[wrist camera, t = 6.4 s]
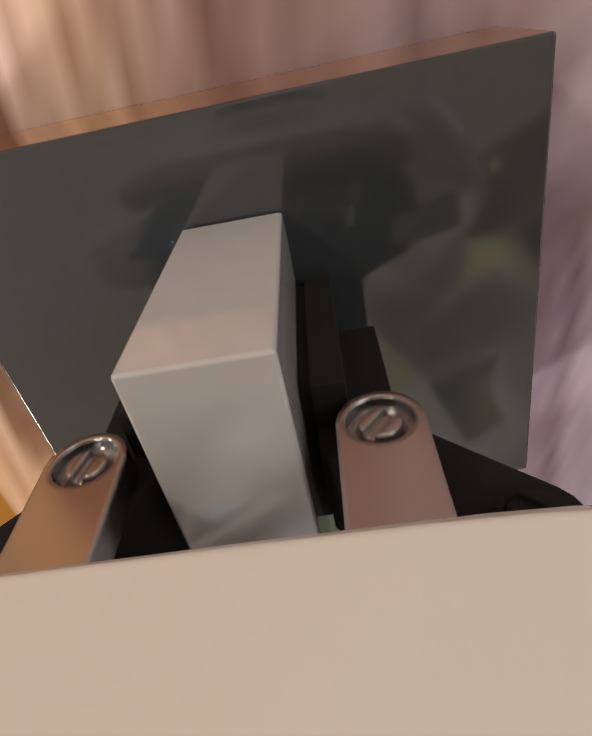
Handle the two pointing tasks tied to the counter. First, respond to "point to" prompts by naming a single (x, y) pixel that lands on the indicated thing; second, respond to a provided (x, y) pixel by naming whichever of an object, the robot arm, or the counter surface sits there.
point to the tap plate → (301, 223)
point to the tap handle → (224, 388)
